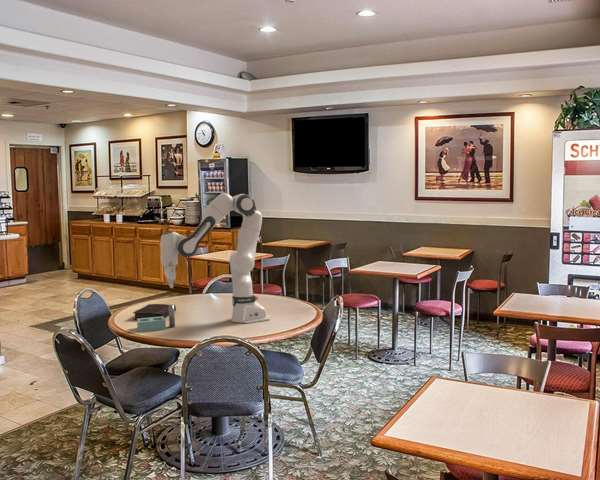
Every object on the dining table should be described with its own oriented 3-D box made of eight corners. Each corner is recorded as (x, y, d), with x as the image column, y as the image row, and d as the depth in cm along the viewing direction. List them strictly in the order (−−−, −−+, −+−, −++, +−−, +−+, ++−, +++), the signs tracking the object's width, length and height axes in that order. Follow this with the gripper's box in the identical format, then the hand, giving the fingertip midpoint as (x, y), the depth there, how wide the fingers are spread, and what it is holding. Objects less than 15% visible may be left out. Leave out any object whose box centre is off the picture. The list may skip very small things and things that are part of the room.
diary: (176, 312, 355) (176, 304, 355) (162, 321, 331) (162, 313, 330) (147, 311, 357) (147, 303, 357) (131, 321, 333) (131, 312, 332)
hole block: (163, 325, 319) (163, 316, 319) (165, 329, 310) (165, 320, 309) (137, 327, 315) (137, 318, 314) (138, 331, 305) (138, 322, 305)
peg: (174, 325, 317) (173, 304, 316) (175, 327, 314) (174, 305, 313) (169, 326, 316) (168, 305, 315) (169, 327, 313) (168, 306, 312)
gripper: (178, 263, 303) (178, 289, 304) (172, 258, 322) (173, 283, 323) (165, 263, 301) (166, 289, 302) (161, 259, 320) (162, 283, 321)
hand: (170, 286), depth 313 cm, fingers open, 8 cm apart
